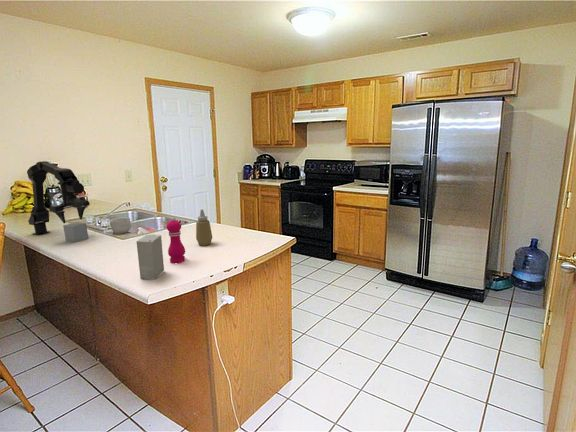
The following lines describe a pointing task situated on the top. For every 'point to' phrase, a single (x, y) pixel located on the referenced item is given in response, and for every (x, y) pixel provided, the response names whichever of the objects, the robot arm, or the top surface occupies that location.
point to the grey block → (75, 232)
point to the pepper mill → (175, 242)
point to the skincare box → (150, 256)
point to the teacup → (120, 225)
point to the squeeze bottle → (203, 230)
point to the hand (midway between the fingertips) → (72, 221)
